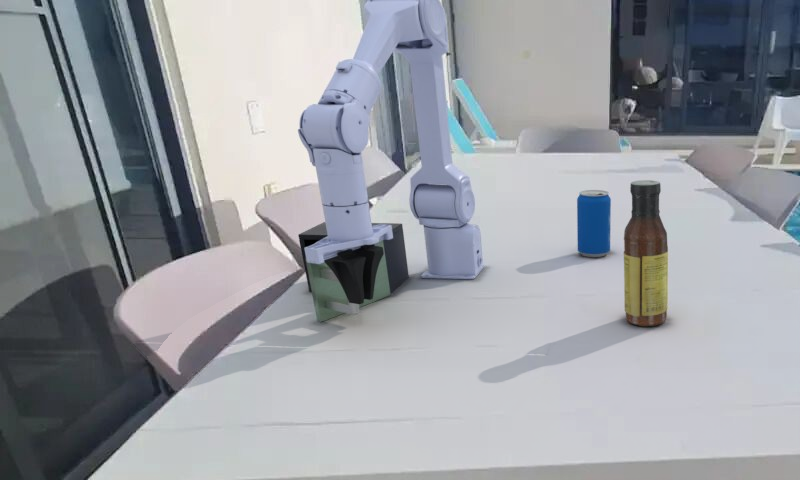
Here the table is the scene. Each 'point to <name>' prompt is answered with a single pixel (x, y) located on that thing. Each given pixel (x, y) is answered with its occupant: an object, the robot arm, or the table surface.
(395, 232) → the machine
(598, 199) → the beverage can
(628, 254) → the sauce bottle
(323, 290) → the machine door
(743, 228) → the table surface
